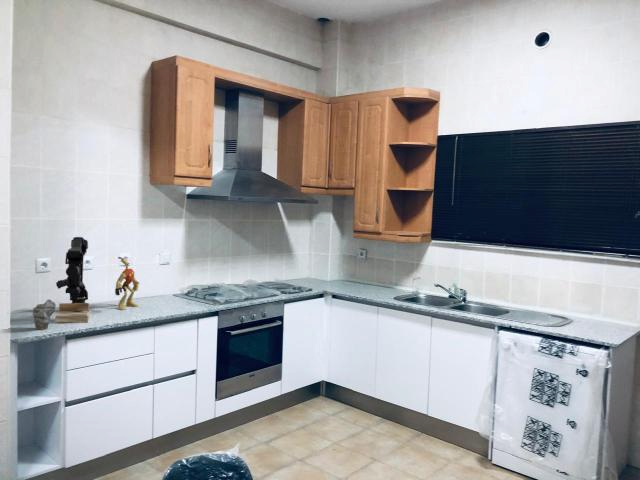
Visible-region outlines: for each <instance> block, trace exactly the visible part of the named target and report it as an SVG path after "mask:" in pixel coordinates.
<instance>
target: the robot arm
mask: <svg viewBox="0 0 640 480" xmlns="http://www.w3.org/2000/svg"><path fill="white" fill-rule="evenodd" d="M70 242H71V243H70V248H68V250H67V252H66V253H65V262H64V264H65V265H68V266H67V267H66V269H65V274H66V276H67V277H66V278H64V279H60V280H57V281H56V283H55V284H56V286H55V287H57V289H58V290H59V289H61V288H64V287H66V288H65V294H69V301H71V303H86V301H87V300H89V292H88V290H87V289H86V288H87V287H86V285H85V284H84V281H83V279H84V278H83V277H84V259H85V255H86V254H87V252H88V249H89V241H88V239H85V238H84V237H82V236H75V237H73V238H72V240H71V241H70ZM74 312H81V311H74Z"/></svg>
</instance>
